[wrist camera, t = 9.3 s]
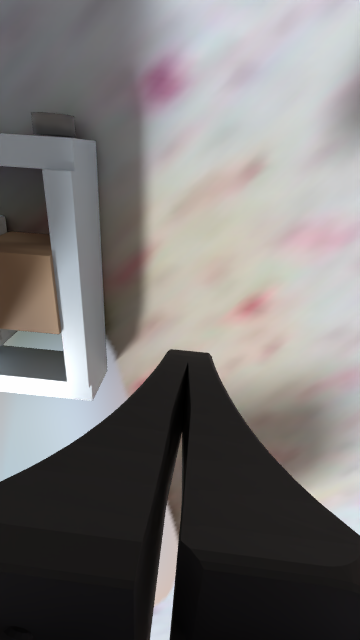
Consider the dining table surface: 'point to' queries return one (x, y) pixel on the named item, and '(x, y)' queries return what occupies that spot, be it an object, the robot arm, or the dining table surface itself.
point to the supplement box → (4, 334)
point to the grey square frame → (63, 262)
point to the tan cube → (28, 283)
